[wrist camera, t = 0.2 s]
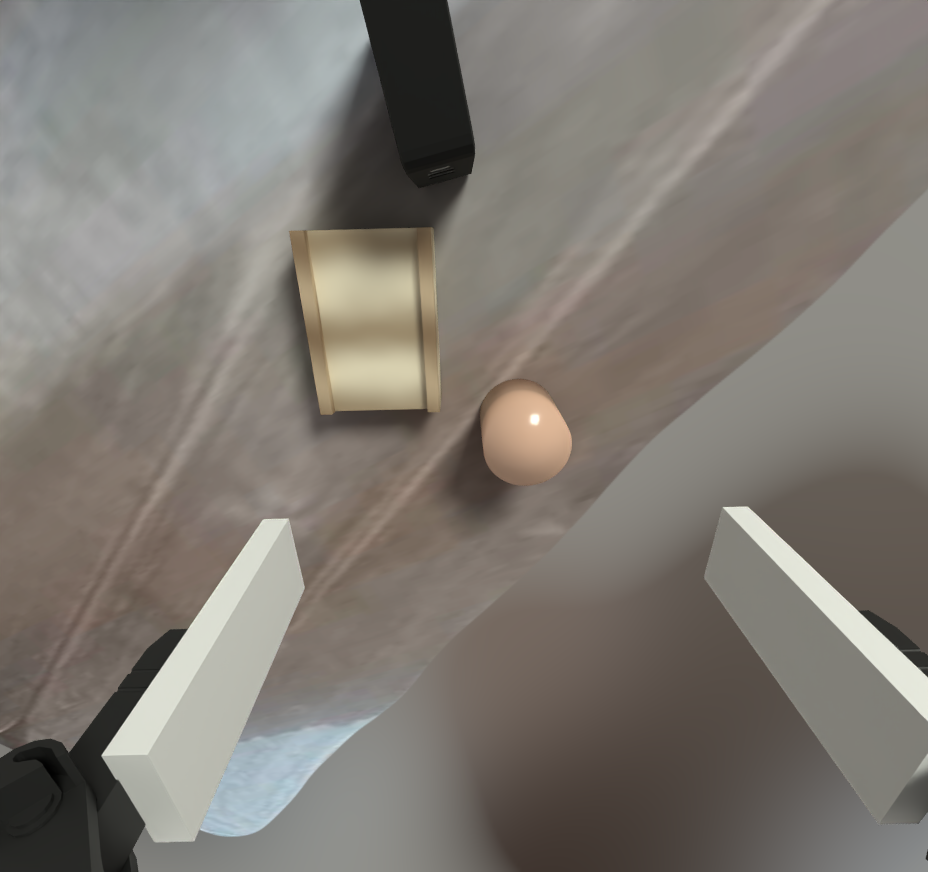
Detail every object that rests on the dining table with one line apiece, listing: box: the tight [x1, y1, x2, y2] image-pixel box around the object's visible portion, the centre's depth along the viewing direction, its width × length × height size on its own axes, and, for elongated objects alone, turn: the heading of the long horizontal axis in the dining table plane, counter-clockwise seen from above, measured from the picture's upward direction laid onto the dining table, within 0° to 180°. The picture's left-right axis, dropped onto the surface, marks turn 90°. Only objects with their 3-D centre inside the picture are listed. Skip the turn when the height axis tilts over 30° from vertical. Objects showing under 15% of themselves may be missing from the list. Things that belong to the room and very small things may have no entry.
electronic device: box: [360, 0, 475, 188], centre depth 27 cm, size 4×10×10 cm, turn 13°
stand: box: [289, 227, 441, 415], centre depth 36 cm, size 14×10×4 cm
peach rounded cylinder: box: [480, 379, 572, 486], centre depth 38 cm, size 7×7×7 cm
